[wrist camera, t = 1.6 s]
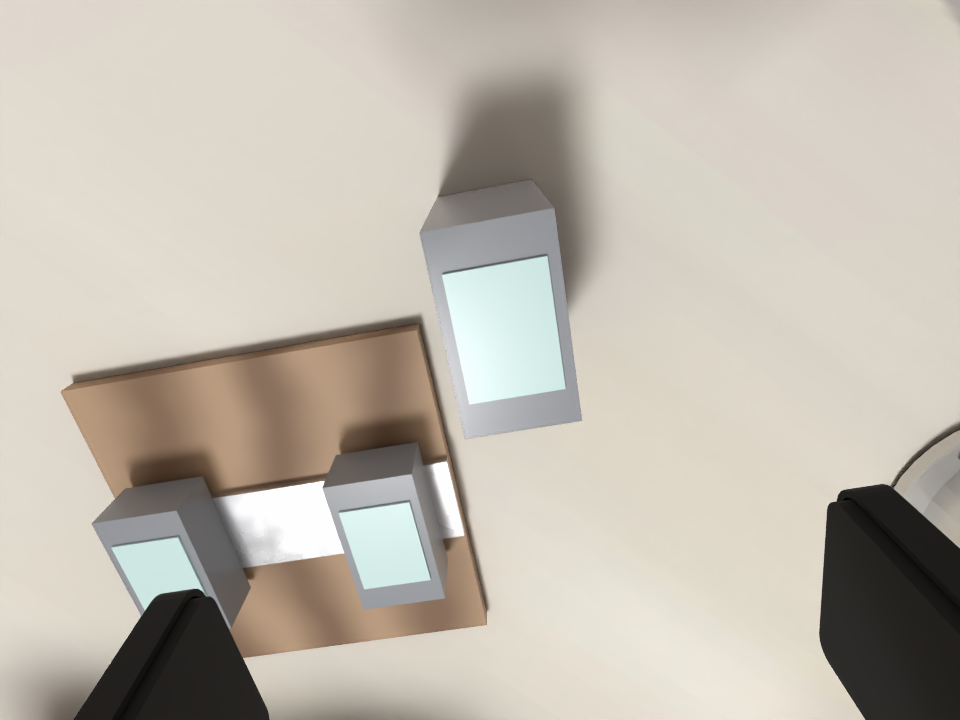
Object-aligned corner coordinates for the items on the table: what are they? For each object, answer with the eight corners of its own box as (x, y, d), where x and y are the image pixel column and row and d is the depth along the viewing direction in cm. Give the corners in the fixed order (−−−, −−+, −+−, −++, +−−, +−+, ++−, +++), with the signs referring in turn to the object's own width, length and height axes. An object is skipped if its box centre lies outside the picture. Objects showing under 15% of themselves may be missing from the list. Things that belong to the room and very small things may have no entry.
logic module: (531, 179, 27) (555, 208, 19) (554, 336, 30) (582, 422, 22) (437, 196, 28) (419, 233, 19) (469, 351, 31) (465, 441, 22)
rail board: (418, 323, 30) (408, 358, 26) (486, 612, 38) (487, 675, 33) (72, 383, 31) (8, 425, 27) (206, 650, 39) (172, 716, 35)
